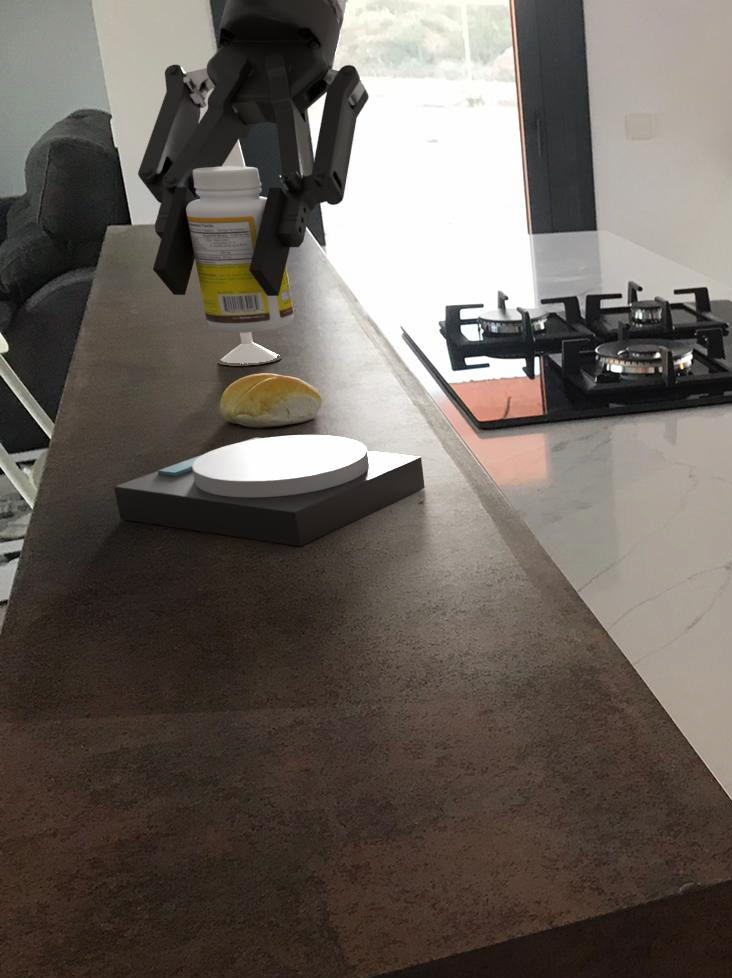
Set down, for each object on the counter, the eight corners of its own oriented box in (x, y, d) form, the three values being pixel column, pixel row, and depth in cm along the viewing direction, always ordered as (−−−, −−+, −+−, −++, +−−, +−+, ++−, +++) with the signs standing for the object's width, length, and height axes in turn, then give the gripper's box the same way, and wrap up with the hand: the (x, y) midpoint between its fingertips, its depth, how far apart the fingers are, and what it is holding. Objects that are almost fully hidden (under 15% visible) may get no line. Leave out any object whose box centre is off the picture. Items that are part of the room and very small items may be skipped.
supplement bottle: (267, 316, 91) (243, 163, 87) (311, 325, 87) (288, 168, 83) (191, 327, 87) (162, 168, 83) (233, 338, 83) (205, 173, 79)
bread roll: (285, 401, 124) (279, 360, 122) (337, 416, 119) (331, 373, 117) (203, 418, 118) (195, 375, 117) (253, 434, 113) (245, 390, 111)
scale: (120, 519, 92) (109, 470, 90) (259, 466, 104) (252, 422, 102) (300, 547, 87) (292, 494, 85) (425, 487, 99) (419, 441, 97)
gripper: (431, 52, 94) (378, 318, 85) (185, 52, 95) (108, 315, 86) (396, -34, 87) (335, 247, 78) (132, -33, 88) (42, 244, 79)
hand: (216, 282), depth 82 cm, fingers closed on supplement bottle, 6 cm apart
